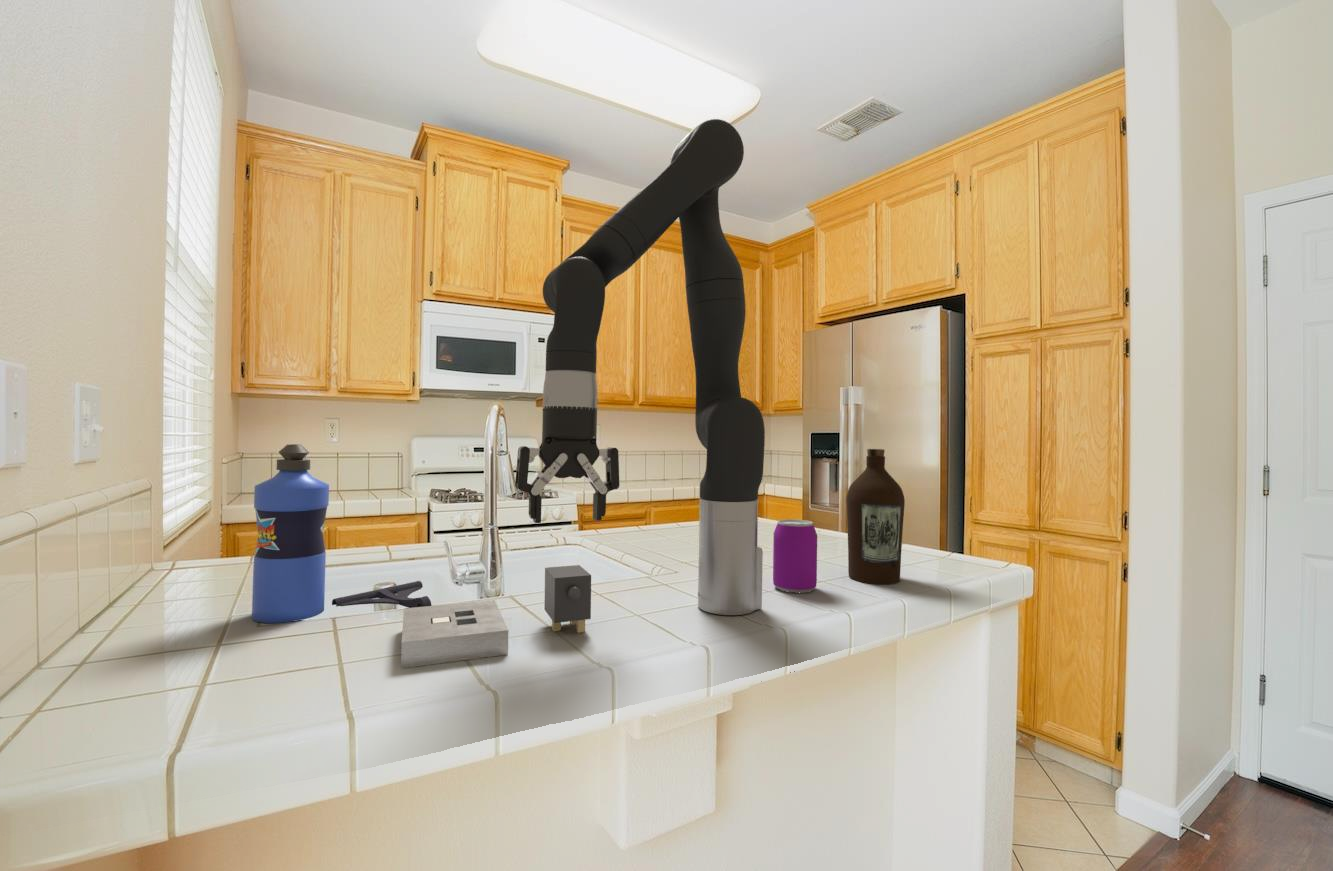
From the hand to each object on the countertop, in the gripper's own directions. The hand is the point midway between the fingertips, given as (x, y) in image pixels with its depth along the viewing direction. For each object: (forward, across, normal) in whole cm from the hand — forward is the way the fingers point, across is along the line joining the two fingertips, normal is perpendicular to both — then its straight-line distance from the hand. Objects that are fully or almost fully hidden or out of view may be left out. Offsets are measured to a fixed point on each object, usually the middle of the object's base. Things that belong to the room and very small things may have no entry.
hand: (567, 521), depth 83 cm
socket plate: (+15, +15, 0) cm, 21 cm away
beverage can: (+15, -43, -7) cm, 46 cm away
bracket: (+16, +22, -21) cm, 34 cm away
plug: (+15, 0, 0) cm, 15 cm away
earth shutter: (+13, +16, 0) cm, 21 cm away
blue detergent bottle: (+16, +37, -21) cm, 45 cm away
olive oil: (+15, -62, -8) cm, 64 cm away
